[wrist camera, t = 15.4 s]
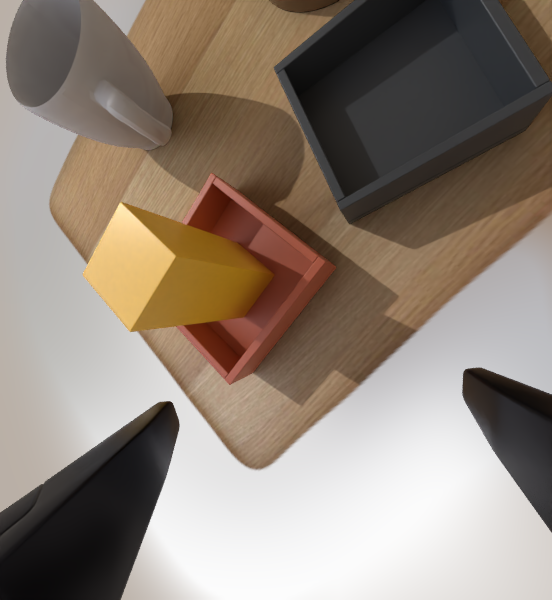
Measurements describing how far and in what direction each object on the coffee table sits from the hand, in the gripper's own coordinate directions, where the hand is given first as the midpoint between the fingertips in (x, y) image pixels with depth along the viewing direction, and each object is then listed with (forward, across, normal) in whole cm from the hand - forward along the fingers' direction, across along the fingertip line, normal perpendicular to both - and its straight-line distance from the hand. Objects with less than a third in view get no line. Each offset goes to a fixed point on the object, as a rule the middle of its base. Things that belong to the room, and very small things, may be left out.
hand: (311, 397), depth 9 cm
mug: (+24, +11, -14) cm, 30 cm away
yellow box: (+16, +5, 0) cm, 16 cm away
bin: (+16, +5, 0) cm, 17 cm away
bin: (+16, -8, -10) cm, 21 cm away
